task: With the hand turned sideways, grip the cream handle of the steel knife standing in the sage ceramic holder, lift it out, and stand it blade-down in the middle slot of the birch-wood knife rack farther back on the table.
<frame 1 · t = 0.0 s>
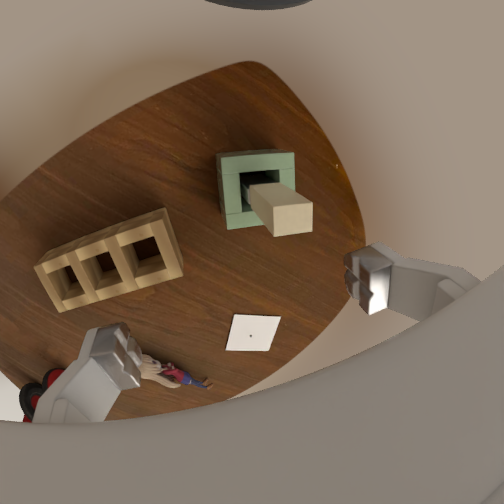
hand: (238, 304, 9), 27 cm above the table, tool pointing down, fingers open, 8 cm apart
holder: (248, 180, 35), on the table
white flat sheet: (252, 333, 46), on the table
headphones: (55, 380, 42), on the table
knife: (265, 195, 28), in the holder
figurine: (171, 367, 46), on the table
rack: (110, 254, 35), on the table
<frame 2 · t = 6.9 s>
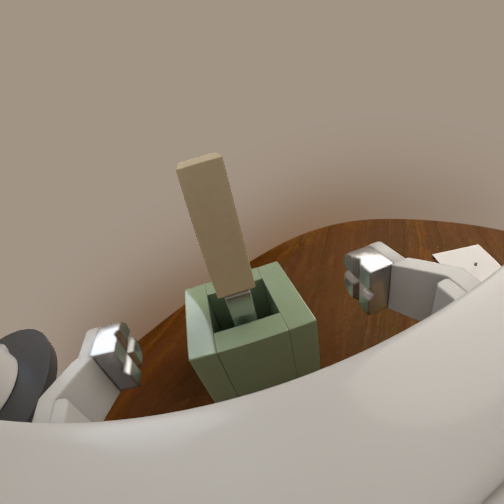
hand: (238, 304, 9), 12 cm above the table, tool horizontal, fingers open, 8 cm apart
holder: (257, 357, 22), on the table
white flat sheet: (472, 267, 24), on the table
knife: (232, 280, 18), in the holder
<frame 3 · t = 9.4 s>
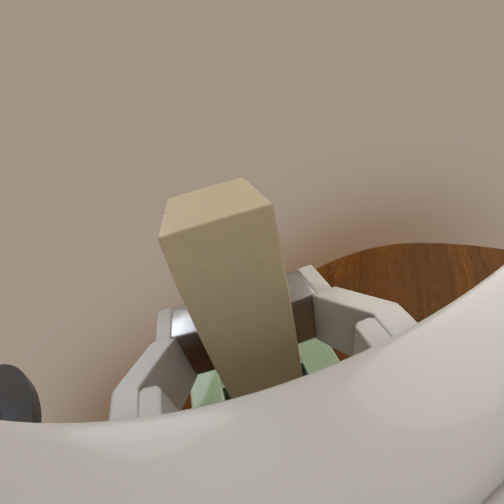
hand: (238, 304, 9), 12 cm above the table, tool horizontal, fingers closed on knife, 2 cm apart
holder: (288, 449, 14), on the table
knife: (267, 388, 10), in the holder, touching gripper
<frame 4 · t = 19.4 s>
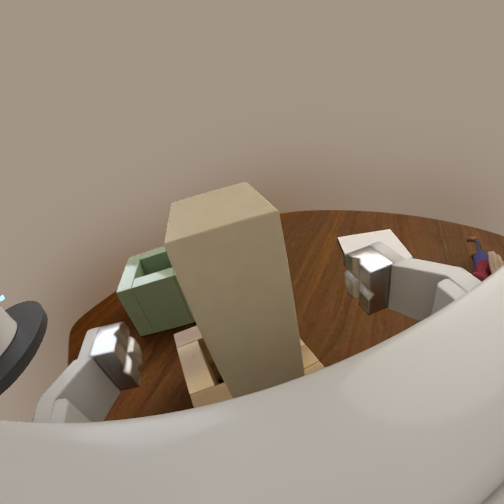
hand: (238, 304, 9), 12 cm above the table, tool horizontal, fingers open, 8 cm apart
holder: (174, 306, 31), on the table
white flat sheet: (373, 248, 33), on the table
knife: (269, 390, 10), in the rack
figurine: (486, 295, 20), on the table
rack: (287, 449, 14), on the table
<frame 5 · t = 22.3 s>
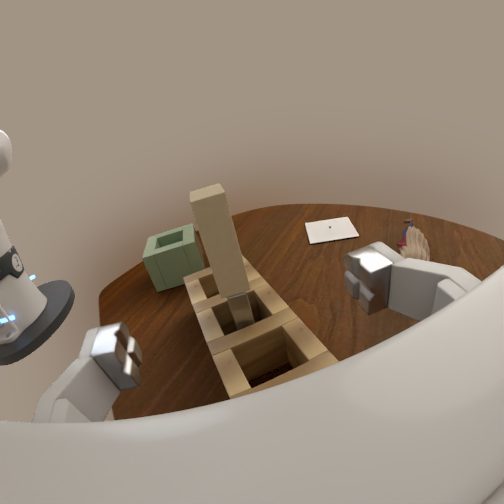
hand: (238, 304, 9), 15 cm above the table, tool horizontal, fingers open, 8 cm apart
holder: (181, 272, 44), on the table
white flat sheet: (330, 230, 45), on the table
knife: (232, 283, 23), in the rack
figurine: (414, 261, 32), on the table
rack: (252, 347, 27), on the table
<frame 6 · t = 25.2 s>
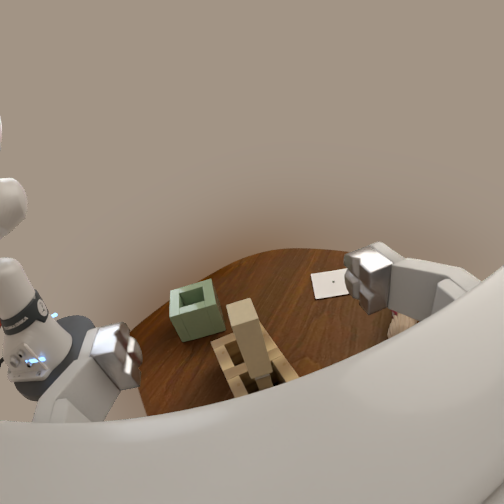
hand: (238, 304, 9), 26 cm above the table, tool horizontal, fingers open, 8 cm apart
holder: (202, 322, 49), on the table
white flat sheet: (333, 283, 51), on the table
knife: (258, 365, 28), in the rack
figurine: (404, 321, 38), on the table
rack: (269, 400, 32), on the table
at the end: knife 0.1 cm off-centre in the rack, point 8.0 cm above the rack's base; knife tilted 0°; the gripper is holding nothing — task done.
